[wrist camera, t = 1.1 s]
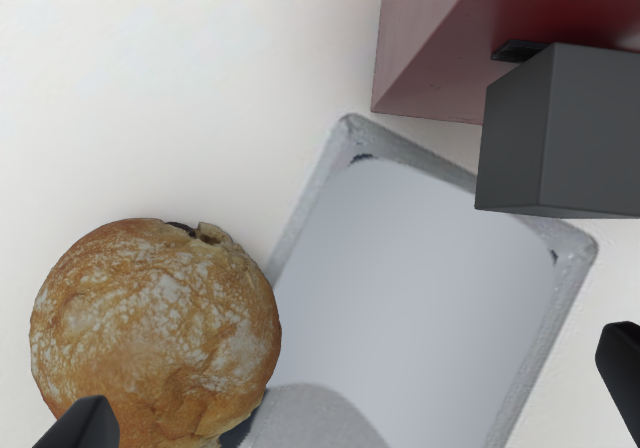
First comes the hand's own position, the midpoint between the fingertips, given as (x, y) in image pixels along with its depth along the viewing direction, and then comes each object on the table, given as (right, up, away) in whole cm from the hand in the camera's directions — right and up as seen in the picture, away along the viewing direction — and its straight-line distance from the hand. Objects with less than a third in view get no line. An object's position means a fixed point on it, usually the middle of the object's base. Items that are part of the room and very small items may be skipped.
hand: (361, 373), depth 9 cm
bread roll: (-7, -2, +14) cm, 16 cm away
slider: (+6, +5, +7) cm, 10 cm away
